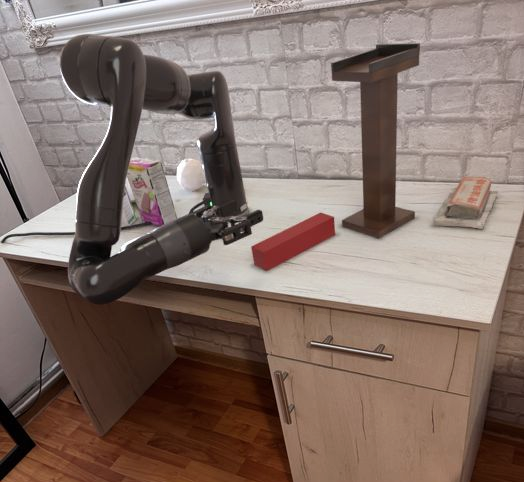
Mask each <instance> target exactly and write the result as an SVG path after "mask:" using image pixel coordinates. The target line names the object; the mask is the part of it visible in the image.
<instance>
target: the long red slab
mask: <svg viewBox="0 0 524 482" xmlns="http://www.w3.org/2000/svg"><path fill="white" fill-rule="evenodd" d="M334 236H336V225H335V216H333V215H330V214H326V213H324V212H319V213H316V214H314V215H312V216H310V217H309V218H306V219H304V220H302V221H300V222H298V223H295V224H294V225H292V226H290V227H288V228H286V229H284V230H281V231H280V232H278V233H276V234H273V235H272V236H269V237H268V238H266V239H263V240H262V241H259V242H258V243H255V244H254V245H253V244H252V246H250V249H251V253H252V260H253V265H254V266H255V267H257V268H260V269H262V270H264V271H266V272H268V271H270V270H272V269H274V268H276V267H278V266H279V265H281V264H283V263H285V262H287V261H290V260H291V259H293V258H294V257H296V256H298V255H300V254H302V253H303V252H306V251H308V250H310V249H311V248H313V247H315V246H317V245H319V244H322V243H323V242H325V241H327V240H328V239H331V238H332V237H334Z"/></svg>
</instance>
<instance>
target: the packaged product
mask: <svg viewBox="0 0 524 482" xmlns="http://www.w3.org/2000/svg"><path fill="white" fill-rule="evenodd" d="M491 187H492V179H491V178H487V177H486V176H483V177H481V176H464V177H462V179H461V180H460V181H459V182H458V185H457V187H454V188H452V190H451V192H450V193H449V195H448V197H446V200H444V203H443V205H442V207H441V208H440V210H439V211H438V213H437V215H436V216H435V218H434V225H435V226H439V227H440V226H441V227H443V226H445V227H464V228H465V227H466V228H475V229H479V230H480V229H481V230H483V228H484V226H485V223H486V222H487V219H488V216H489V214H490V212H491V210H492V209H493V205H494V203H495V200H496V198H497V195H498V194H499V191H498V190H491Z"/></svg>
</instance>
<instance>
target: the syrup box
mask: <svg viewBox="0 0 524 482" xmlns="http://www.w3.org/2000/svg"><path fill="white" fill-rule="evenodd" d="M135 211H136V210H135V209H134V206H133V203H131V200H130V197H129V195H128V192H127V189H126V186H125V189H124V197H123V210H122V221H121V227H125V226H130V225H133V223H134V222H135V221H136V220H137V219H138V218H137V214H136V212H135Z"/></svg>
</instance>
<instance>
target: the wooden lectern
mask: <svg viewBox="0 0 524 482" xmlns="http://www.w3.org/2000/svg"><path fill="white" fill-rule="evenodd" d="M420 51H421V43H420V42H410V43H408V42H407V43H406V42H405V43H377V44H375V48H373V49H369V50H365V51H363V52H361V53H357V54H353V55H351V56H348V57H345V58H342V59H339V60H336V61H333V62H330V67H331V68H330V71H331V81H332V82H346V83H347V82H349V83H359V84H360V85H359V87H360V89H359V90H360V93H359V94H360V127H361V128H360V129H361V132H360V133H361V165H362V166H361V171H362V202H363V203H362V205H363V208H362V209H361V210H359V211H356V212H355V213H353V214H351V215H348V216H347V217H345V218H343V219H341V227H342V228H345V229H349V230H352V231H354V232H357V233H360V234H363V235H366V236H369V237H372V238H375V239H378V240H379V239H381V238H382V237H384V236H386V235H388V234H389V233H391V232H393V231H395V230H397V229H398V228H400V227H402V226H404V225H405V224H407V223H409V222H411V221H413V220H415V216H416V212H415V211H413V210H410V209H406V208H402V207H398V206H396V202H397V201H396V195H397V140H398V137H397V136H398V85H399V84H398V79H399V74H400V73H402V72H405V71H408V70H411V69H413V68H416V67H418V66H420V55H421V54H420V53H421V52H420Z"/></svg>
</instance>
